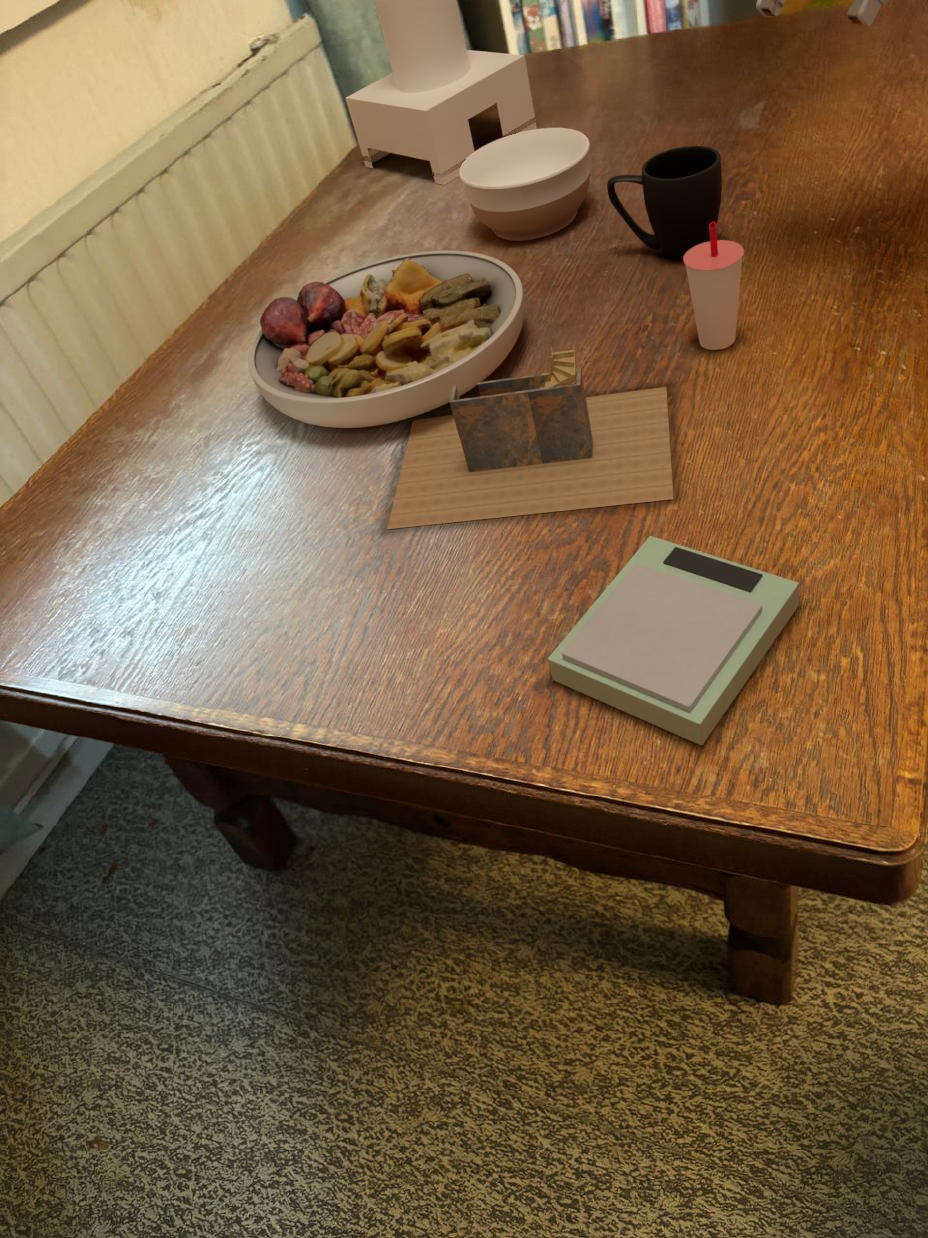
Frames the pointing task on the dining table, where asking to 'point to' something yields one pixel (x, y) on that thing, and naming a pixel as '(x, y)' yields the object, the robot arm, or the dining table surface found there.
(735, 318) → the cup
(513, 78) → the paper towel holder
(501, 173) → the bowl
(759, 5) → the robot arm
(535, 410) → the ruin model on sheet
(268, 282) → the dining table surface
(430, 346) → the bowl
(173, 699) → the dining table surface
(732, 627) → the scale
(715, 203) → the mug
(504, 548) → the dining table surface
